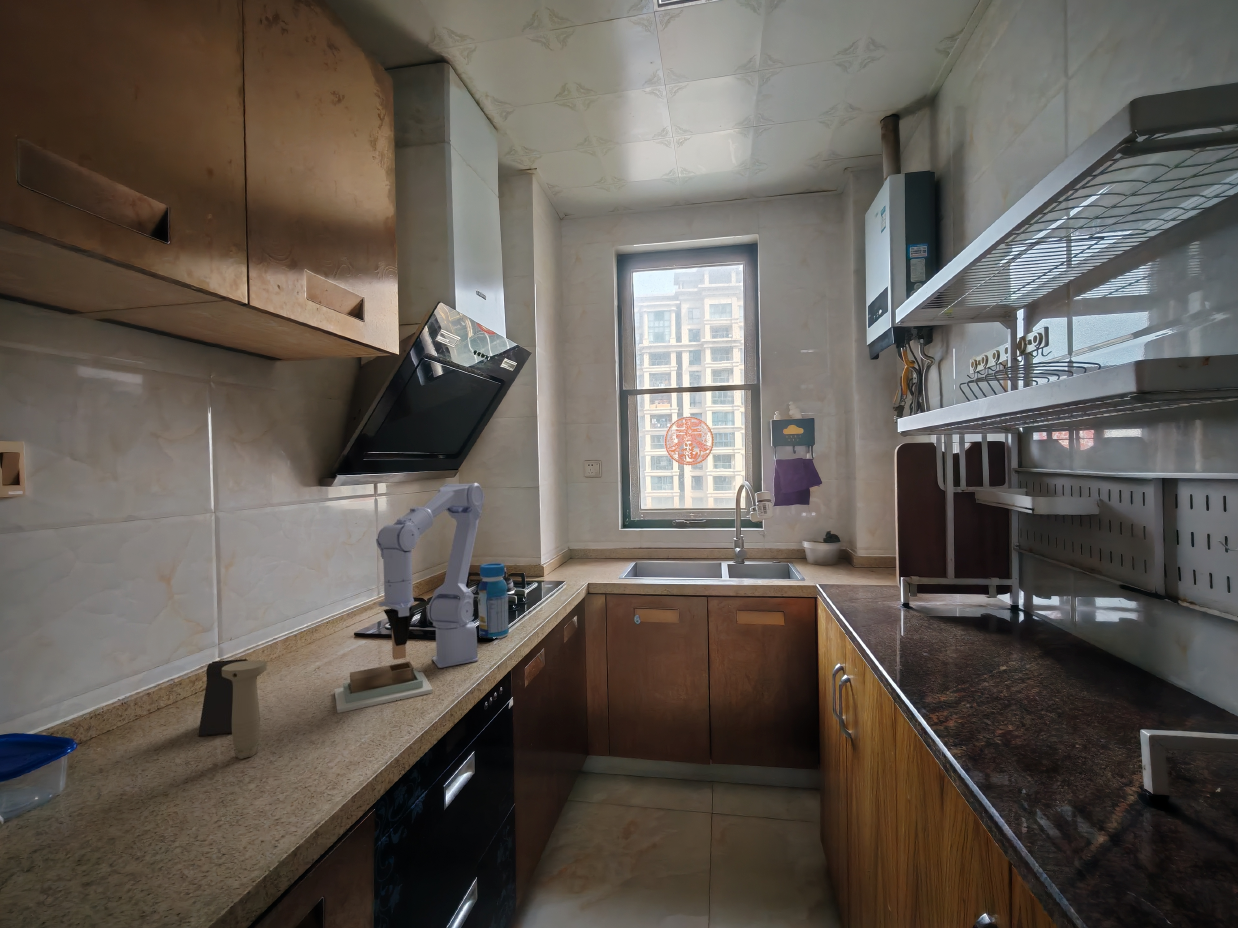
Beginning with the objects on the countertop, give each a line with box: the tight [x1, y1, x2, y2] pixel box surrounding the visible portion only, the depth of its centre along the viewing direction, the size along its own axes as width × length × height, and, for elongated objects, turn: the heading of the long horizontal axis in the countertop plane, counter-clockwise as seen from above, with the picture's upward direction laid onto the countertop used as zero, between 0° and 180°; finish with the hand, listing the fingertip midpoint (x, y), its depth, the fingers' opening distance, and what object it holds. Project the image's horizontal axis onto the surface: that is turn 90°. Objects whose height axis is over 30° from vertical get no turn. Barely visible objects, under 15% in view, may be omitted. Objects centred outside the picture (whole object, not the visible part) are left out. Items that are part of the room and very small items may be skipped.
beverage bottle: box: [477, 562, 510, 640], centre depth 158 cm, size 8×8×20 cm
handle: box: [222, 659, 268, 760], centre depth 94 cm, size 5×6×15 cm
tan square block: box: [391, 631, 407, 660], centre depth 121 cm, size 2×2×6 cm
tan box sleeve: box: [349, 660, 415, 693], centre depth 119 cm, size 12×5×4 cm, turn 119°
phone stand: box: [197, 658, 249, 738], centre depth 106 cm, size 9×6×12 cm, turn 8°
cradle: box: [334, 668, 434, 714], centre depth 119 cm, size 18×12×2 cm, turn 119°
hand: (400, 642), depth 121 cm, fingers closed on tan square block, 2 cm apart
